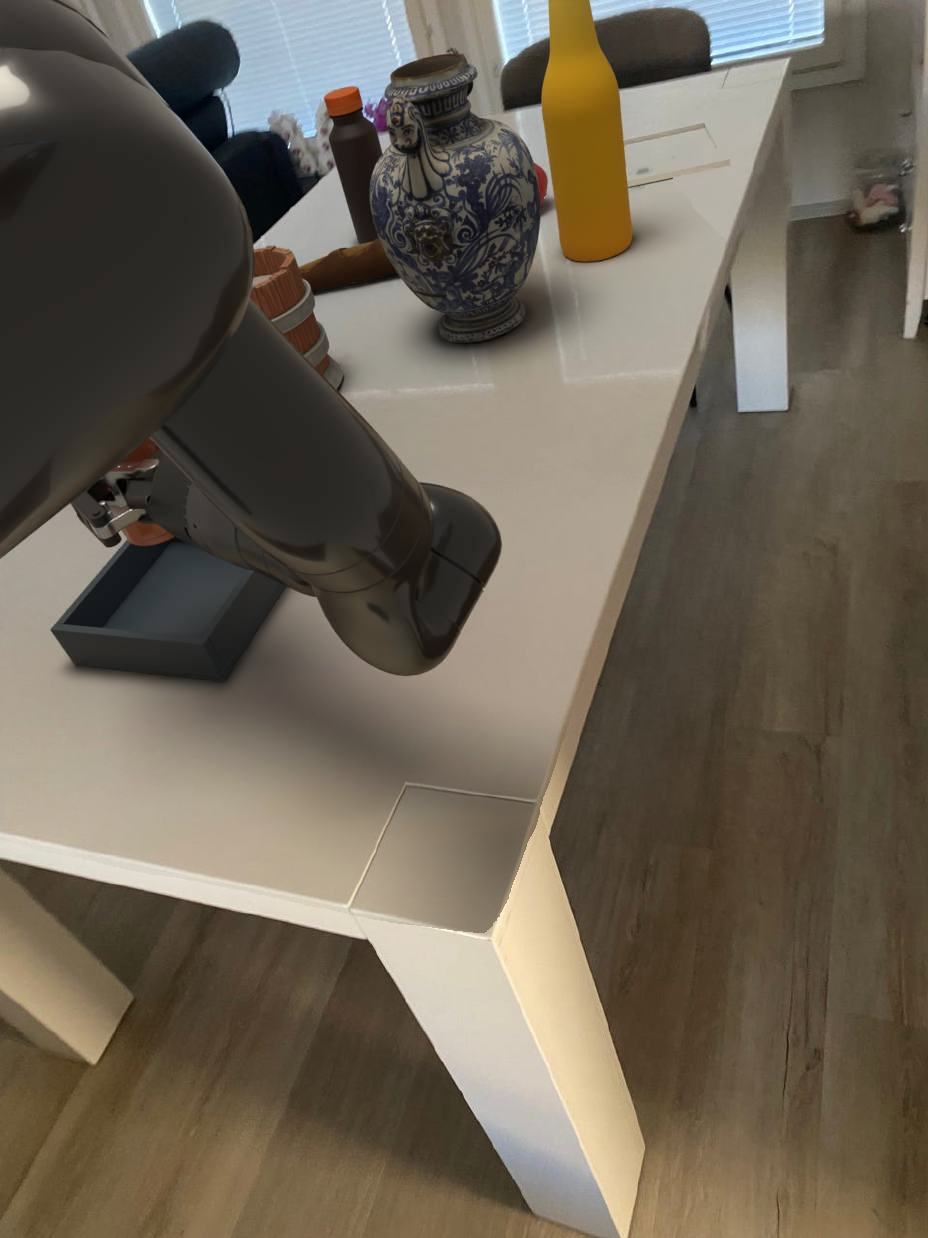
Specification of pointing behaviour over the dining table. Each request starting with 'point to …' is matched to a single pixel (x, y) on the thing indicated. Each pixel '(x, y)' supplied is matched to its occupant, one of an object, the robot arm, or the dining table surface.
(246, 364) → the robot arm
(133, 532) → the tumbler
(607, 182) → the beer bottle
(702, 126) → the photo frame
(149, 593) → the tray
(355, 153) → the vinegar
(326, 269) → the bread
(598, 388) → the dining table surface
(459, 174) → the decorative vase
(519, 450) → the dining table surface
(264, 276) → the mug
